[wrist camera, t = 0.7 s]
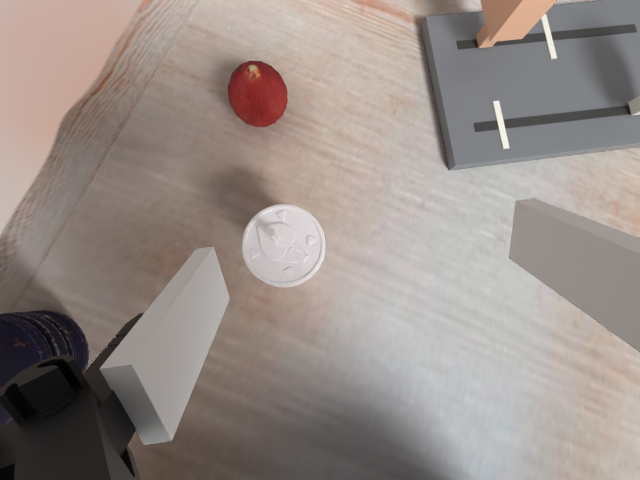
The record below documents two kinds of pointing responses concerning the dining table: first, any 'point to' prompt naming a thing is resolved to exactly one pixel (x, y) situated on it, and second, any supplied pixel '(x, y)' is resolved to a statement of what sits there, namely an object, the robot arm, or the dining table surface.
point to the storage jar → (37, 344)
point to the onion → (257, 93)
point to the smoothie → (283, 245)
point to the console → (537, 84)
